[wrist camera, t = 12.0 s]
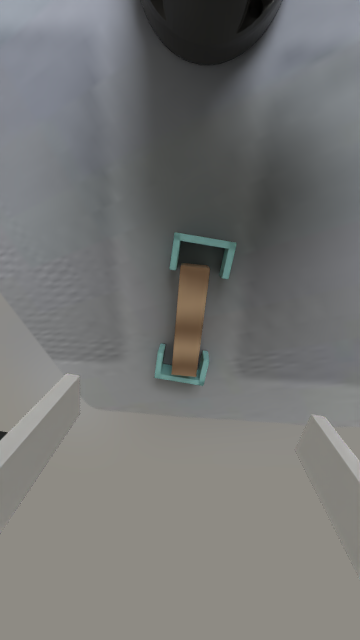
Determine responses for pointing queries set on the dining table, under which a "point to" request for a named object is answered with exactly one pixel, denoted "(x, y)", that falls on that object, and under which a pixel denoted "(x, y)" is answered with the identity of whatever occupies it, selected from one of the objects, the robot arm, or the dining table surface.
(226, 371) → the dining table surface
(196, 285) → the batten
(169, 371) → the pair of teal brackets
